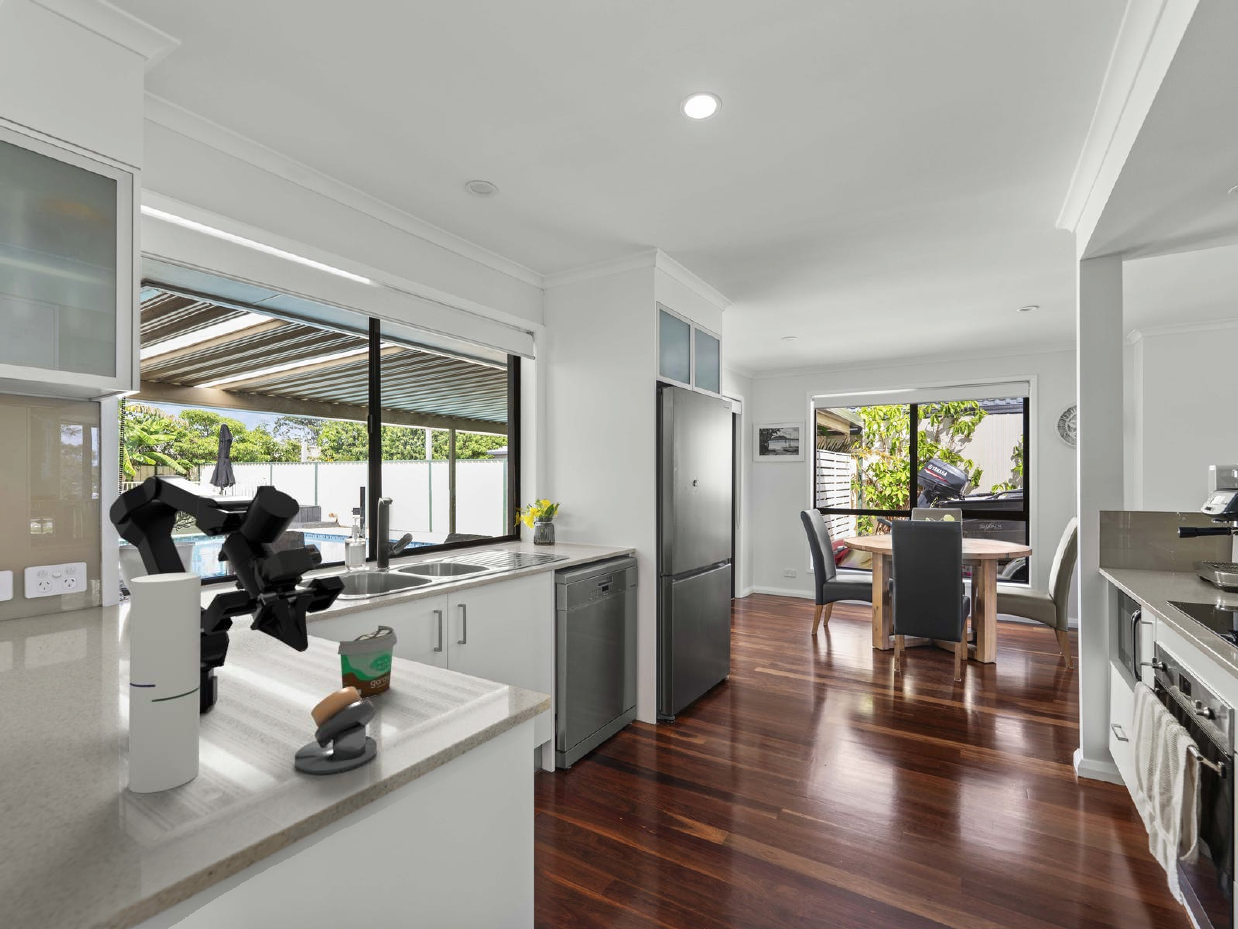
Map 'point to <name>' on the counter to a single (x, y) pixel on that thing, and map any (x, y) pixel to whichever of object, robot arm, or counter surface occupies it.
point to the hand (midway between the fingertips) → (304, 649)
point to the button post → (340, 742)
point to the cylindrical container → (164, 681)
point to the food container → (368, 662)
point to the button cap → (334, 704)
